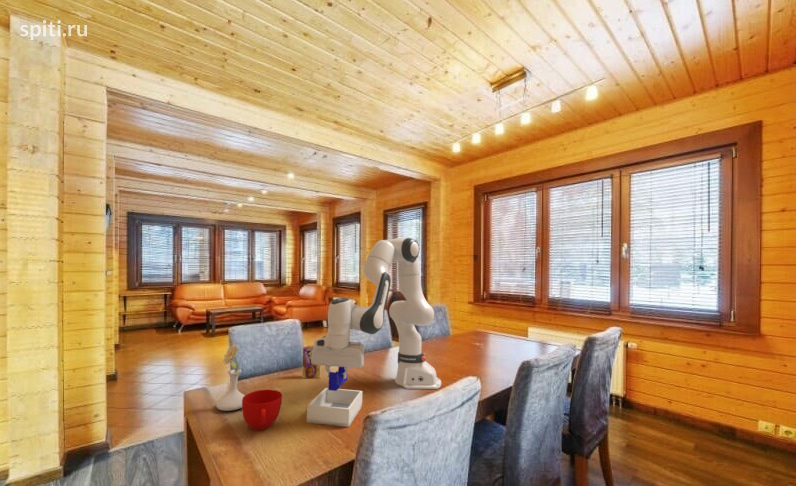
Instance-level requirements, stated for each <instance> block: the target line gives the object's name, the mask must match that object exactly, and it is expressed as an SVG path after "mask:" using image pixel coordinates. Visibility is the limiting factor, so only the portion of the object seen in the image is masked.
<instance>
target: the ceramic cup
mask: <svg viewBox="0 0 796 486" xmlns="http://www.w3.org/2000/svg"><path fill="white" fill-rule="evenodd" d="M244 395H245V396H244V397H243V399H242V408H241V409H242V410H241V411H242V415H243V419H244V421H245V423H246V424H247V426H249V427H250V429H251V430H254V431H263V430H264V431H265V430H267V429H269V428H270V427H271V426H272V425H273V424H274V423H275V421H276V420H277V418H278V416H279V413H280V412H281V408H282V401H283V400H282V399H283V393H282V392H281V391H279V390H276V389H259V390H254V391H251V392H248V393H247V394H244Z"/></svg>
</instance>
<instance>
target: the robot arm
mask: <svg viewBox="0 0 796 486" xmlns="http://www.w3.org/2000/svg"><path fill="white" fill-rule="evenodd" d="M420 251H421V250H420V245H419V243H418V241H417V240H416V239H415V238H410V237H407V238H404V237H396V238H390V239H381V240H378V241H377V242H376V243H375V244H374V245H373V246H372V247H371V250H370V251H369V253H368V256H367V258H366V260H365V262H364V264H363V274H364V276H365V278H367V280H369V281H370V283H373V284H374V285H375V291H374V294H373V298H372V300H371V301H372V303H371V304H370V305H369V306H364V305H363V306H361V305H357V304H355V303H354V302H352V301H351V300H350V298H347V297H340V298H335V299H332V300H331V301H330V304H329V307H328V313H327V325H328V329H327V331H326V332H327V333H326V335H324V336H322V337H318V338H317V339H315V340H314V341H313V342H314V343H313V344H314V345H315V347H314V348H313V350H312V356H311V362H312V364H313V365H321V366H324V369H325V371H326V373H327V378H328V379H329V373H330V372H332V370H331V369H330V368H331V367H337V368H339V367H344V370H346V371H345V372H344V373H342V374H341V376H342V377H341V379H346V373H347V374H348V372H349V370H350V369H352V368H353V369H361V368H362V367H363V366H364V364H365V356H364V354H365V345H364V344H363V343H362V342H356V341H351V330H354V331H357V332H358V331H359V332H363V333H366V334H368V335H375V334H377V333H378V332H379V331H380V330H382V328H383V326H384V323H385V322H384V321H385V311H386V306H387V301H388V299H389V293H390V289H391V288H390V287H391V283H392V281H391V276H390V274H389V272H390V268H391V266H392V263H393V262H396V263H397V264H398V265H397V279H398V280H397V281H398V283H397V284H398V290H399V292H400V293H401V294H402V295H403V296H404V298H405V300H396V301H393V302H392V303H391V304H390V306H389V308H388V309H389V310H388V311H389V312H388V313H389V314H388V315H389V316H390V319H392V320H393V322H394V324H395V327H396V330H397V334H398V353H397V370H396V371H397V372H396V376H395V379H394V383H395V384H396V385H398V386H401V387H403V388H404V389H407V390H409V389H411V390H413V389H414V390H438V389H439V388H441V387H442V380H441V379H440V378H439V377H437V375H438V374H437V371H436V369H435V368H434V367H433V366H432V365H431V364H430V363H428V362H427V361H426V360H427V357H426V353H424V352H422V344H423V343H422V341H423V340H422V335H421V334H420V332H418V331H417V328H416V326H419V327H422V326H423V327H425V326H429V325H431V324H432V323H433V321H434V318H435V311H434V309H433V307H432V306H431V305H430V304H429V303H428V301H427V300H426V298H425V294H424V293H423V289H422V280H421V278H422V277H421V267H420V261H419V254H420Z"/></svg>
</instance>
